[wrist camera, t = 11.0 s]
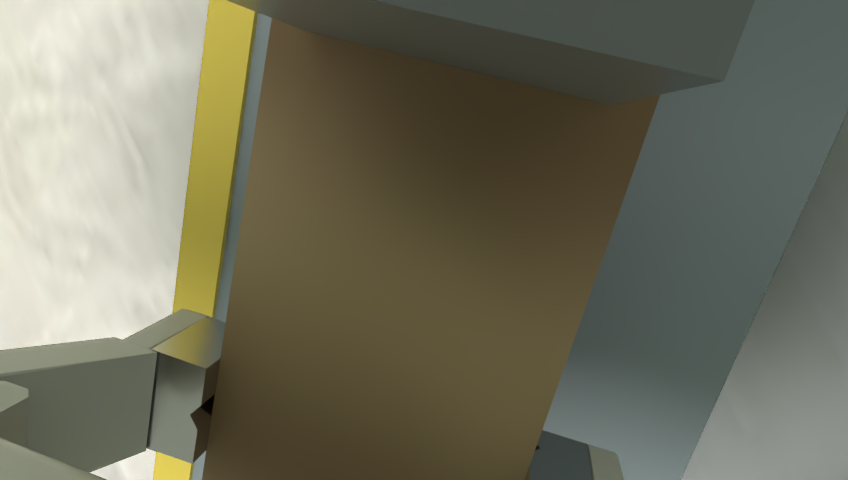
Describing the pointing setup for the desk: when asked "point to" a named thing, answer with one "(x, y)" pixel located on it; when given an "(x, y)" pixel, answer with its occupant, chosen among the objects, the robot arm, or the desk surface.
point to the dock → (632, 234)
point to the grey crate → (543, 38)
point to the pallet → (409, 265)
